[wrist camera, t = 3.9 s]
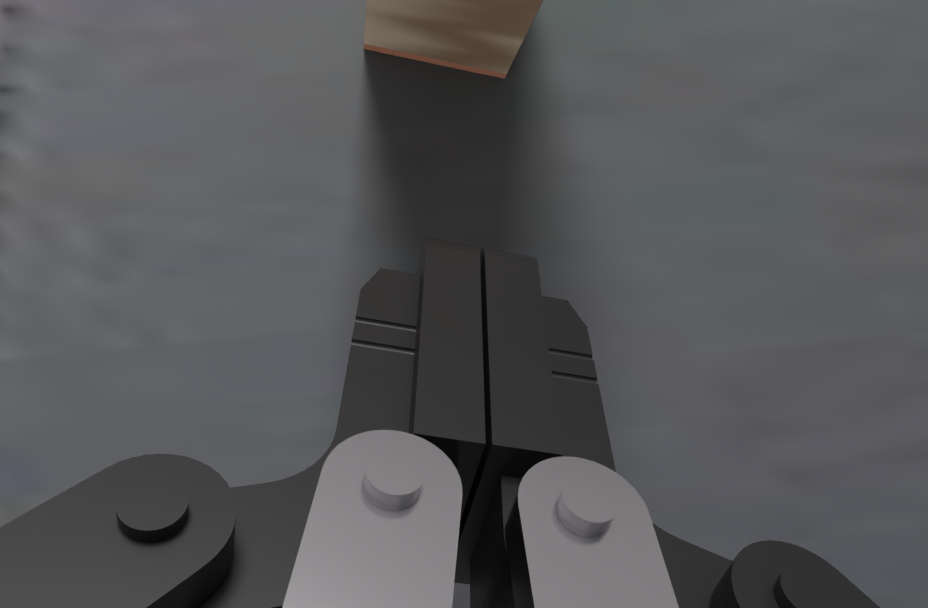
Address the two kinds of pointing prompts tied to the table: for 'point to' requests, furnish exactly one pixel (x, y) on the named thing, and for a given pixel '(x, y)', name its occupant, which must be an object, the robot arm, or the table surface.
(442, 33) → the tall block
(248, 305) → the table surface
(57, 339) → the table surface
